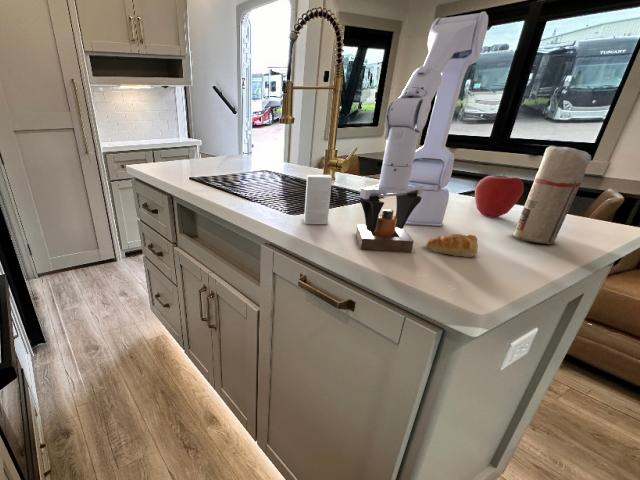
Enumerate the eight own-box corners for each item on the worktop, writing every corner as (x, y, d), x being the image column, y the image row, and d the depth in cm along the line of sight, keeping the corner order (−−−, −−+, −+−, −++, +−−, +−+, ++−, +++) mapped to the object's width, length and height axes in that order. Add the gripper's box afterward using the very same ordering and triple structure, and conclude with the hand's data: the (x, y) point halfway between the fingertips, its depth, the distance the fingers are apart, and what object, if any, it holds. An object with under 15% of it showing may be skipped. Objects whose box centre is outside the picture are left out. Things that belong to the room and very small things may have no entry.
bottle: (383, 239, 84) (389, 207, 80) (396, 245, 80) (403, 211, 77) (367, 241, 83) (373, 208, 79) (379, 247, 79) (386, 213, 75)
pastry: (428, 254, 75) (433, 237, 73) (421, 244, 81) (425, 227, 79) (478, 258, 73) (484, 240, 71) (467, 247, 79) (472, 230, 77)
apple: (515, 215, 102) (531, 172, 97) (510, 223, 95) (527, 177, 90) (472, 208, 109) (484, 168, 103) (464, 216, 101) (477, 172, 96)
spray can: (515, 231, 89) (549, 144, 79) (557, 239, 84) (598, 146, 74) (507, 239, 83) (541, 146, 74) (551, 248, 78) (594, 149, 69)
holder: (401, 237, 85) (403, 226, 84) (411, 252, 76) (413, 241, 75) (355, 234, 87) (357, 224, 86) (360, 249, 78) (362, 238, 77)
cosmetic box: (325, 220, 98) (330, 174, 92) (327, 225, 94) (333, 177, 88) (303, 219, 98) (307, 174, 92) (304, 224, 94) (308, 177, 89)
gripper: (412, 160, 79) (399, 221, 85) (355, 163, 75) (346, 227, 81) (436, 164, 73) (420, 229, 79) (376, 168, 69) (365, 236, 75)
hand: (384, 229), depth 80 cm, fingers open, 7 cm apart
